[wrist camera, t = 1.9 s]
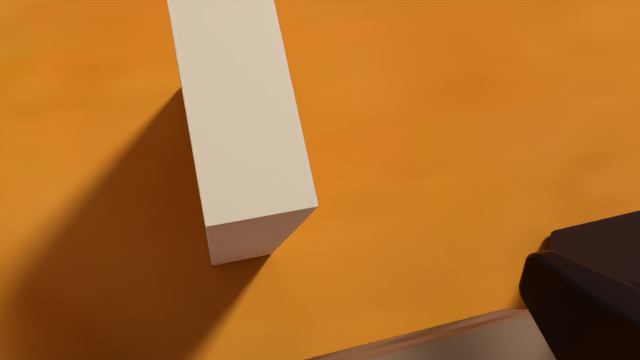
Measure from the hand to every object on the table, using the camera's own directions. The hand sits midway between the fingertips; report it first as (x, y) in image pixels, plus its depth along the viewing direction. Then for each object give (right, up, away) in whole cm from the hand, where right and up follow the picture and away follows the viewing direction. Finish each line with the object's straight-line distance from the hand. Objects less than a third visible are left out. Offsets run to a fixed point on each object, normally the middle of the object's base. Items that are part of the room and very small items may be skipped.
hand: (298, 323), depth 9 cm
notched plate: (-4, +3, +13) cm, 14 cm away
